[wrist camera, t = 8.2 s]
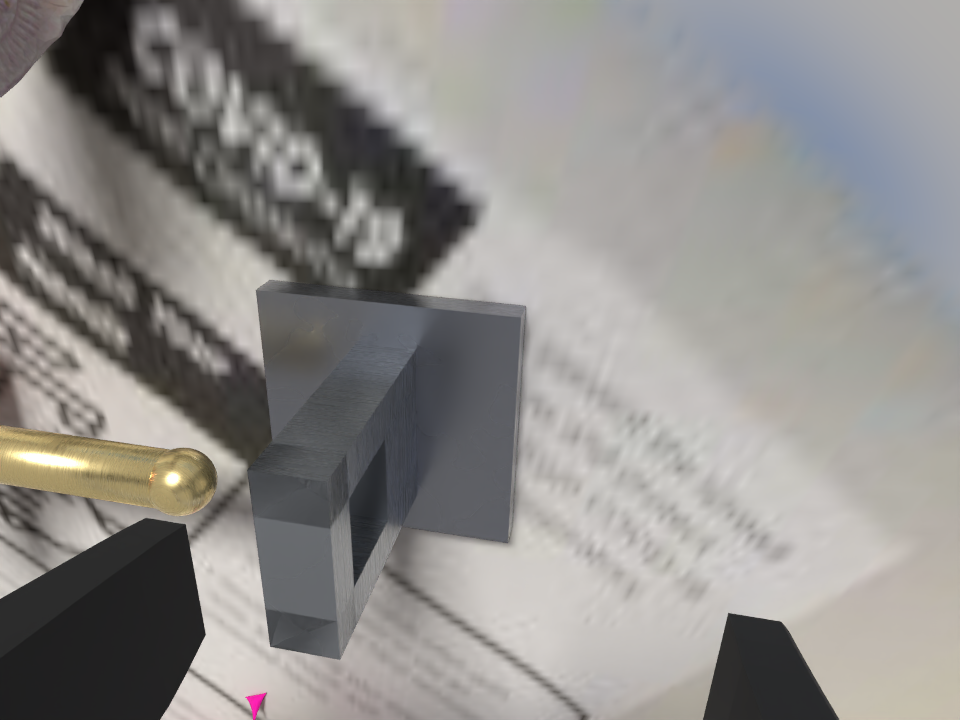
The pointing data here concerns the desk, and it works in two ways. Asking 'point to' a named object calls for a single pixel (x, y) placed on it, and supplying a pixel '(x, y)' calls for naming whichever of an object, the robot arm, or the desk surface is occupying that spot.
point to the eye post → (375, 442)
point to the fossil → (29, 34)
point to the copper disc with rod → (107, 470)
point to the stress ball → (255, 703)
